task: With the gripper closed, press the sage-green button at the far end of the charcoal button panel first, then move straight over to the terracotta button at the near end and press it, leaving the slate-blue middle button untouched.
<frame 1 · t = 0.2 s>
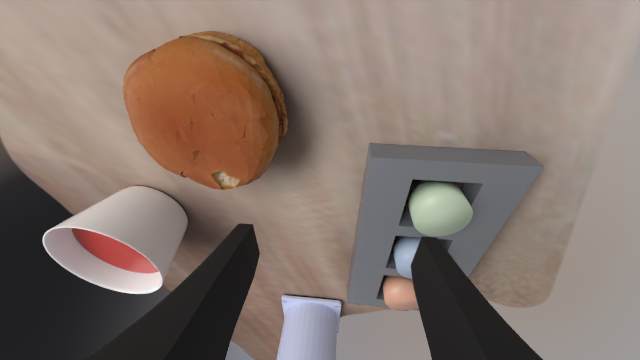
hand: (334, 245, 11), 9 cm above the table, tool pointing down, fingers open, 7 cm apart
button panel: (412, 237, 23), on the table
burger: (228, 108, 18), on the table
blue button: (417, 257, 22), point 2 cm above the table, slide at 0.0 cm
candle: (156, 209, 25), on the table
terracotta button: (402, 291, 25), point 2 cm above the table, slide at 0.0 cm
green button: (437, 208, 18), point 2 cm above the table, slide at 0.0 cm
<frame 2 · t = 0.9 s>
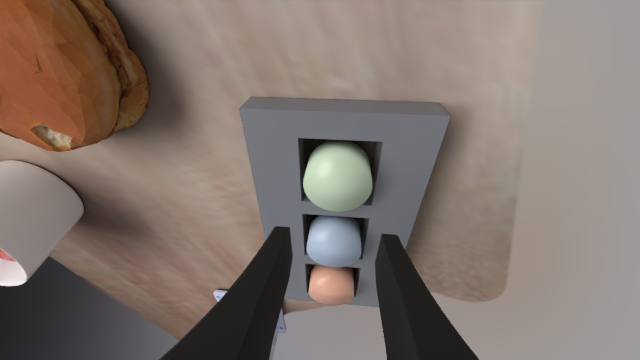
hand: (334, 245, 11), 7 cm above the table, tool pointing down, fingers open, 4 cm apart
button panel: (335, 219, 20), on the table
burger: (77, 55, 14), on the table
blue button: (334, 240, 18), point 2 cm above the table, slide at 0.0 cm
candle: (46, 190, 21), on the table
terracotta button: (331, 283, 22), point 2 cm above the table, slide at 0.0 cm
green button: (337, 176, 15), point 2 cm above the table, slide at 0.0 cm
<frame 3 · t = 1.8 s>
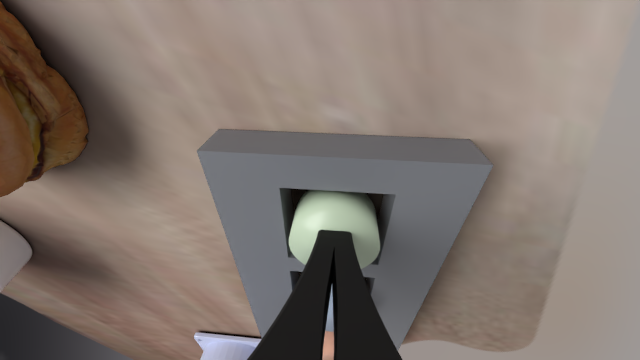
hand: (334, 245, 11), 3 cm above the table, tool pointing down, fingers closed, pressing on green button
button panel: (332, 267, 16), on the table
blue button: (330, 299, 15), point 2 cm above the table, slide at 0.0 cm
terracotta button: (328, 339, 18), point 2 cm above the table, slide at 0.0 cm
green button: (334, 229, 11), point 2 cm above the table, slide at 0.3 cm, touching gripper
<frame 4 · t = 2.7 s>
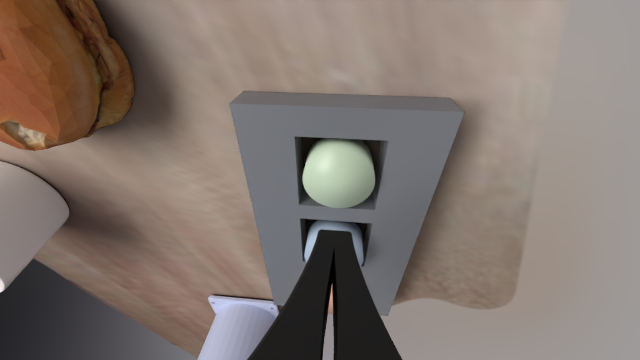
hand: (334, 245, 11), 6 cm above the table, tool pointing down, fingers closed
button panel: (335, 223, 19), on the table
burger: (54, 44, 13), on the table
blue button: (334, 246, 17), point 2 cm above the table, slide at 0.0 cm
candle: (29, 191, 20), on the table
terracotta button: (331, 290, 21), point 2 cm above the table, slide at 0.0 cm
green button: (338, 171, 14), point 1 cm above the table, slide at 0.7 cm
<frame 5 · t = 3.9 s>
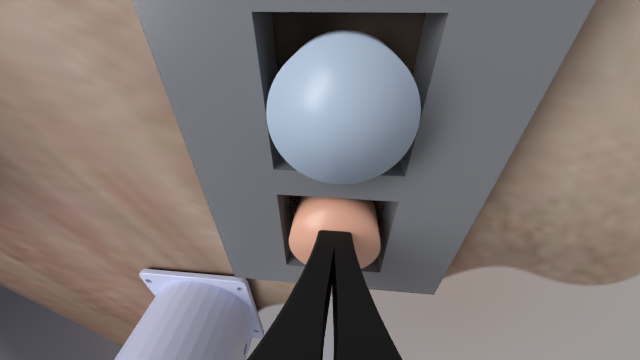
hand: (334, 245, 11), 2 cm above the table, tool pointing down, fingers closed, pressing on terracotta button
button panel: (342, 89, 9), on the table
blue button: (341, 110, 7), point 2 cm above the table, slide at 0.0 cm
terracotta button: (334, 229, 11), point 1 cm above the table, slide at 0.7 cm, touching gripper
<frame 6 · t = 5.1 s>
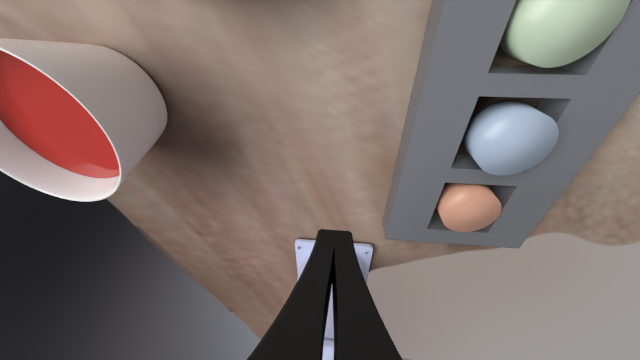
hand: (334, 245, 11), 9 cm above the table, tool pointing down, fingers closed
button panel: (488, 124, 16), on the table
blue button: (506, 138, 14), point 2 cm above the table, slide at 0.0 cm
candle: (123, 96, 18), on the table
terracotta button: (465, 204, 19), point 1 cm above the table, slide at 0.7 cm
green button: (556, 17, 11), point 1 cm above the table, slide at 0.7 cm
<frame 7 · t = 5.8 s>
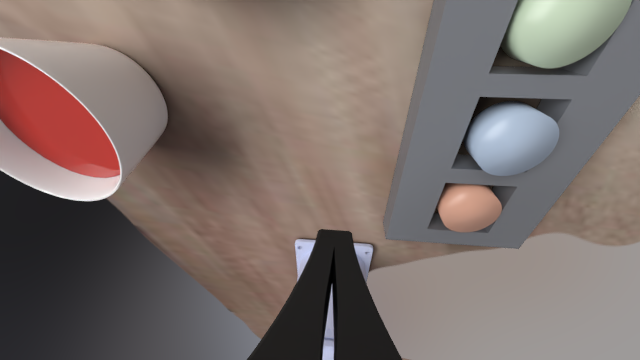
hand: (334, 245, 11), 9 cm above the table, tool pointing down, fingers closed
button panel: (489, 124, 16), on the table
blue button: (506, 139, 14), point 2 cm above the table, slide at 0.0 cm
candle: (124, 96, 18), on the table
terracotta button: (465, 205, 19), point 1 cm above the table, slide at 0.7 cm
green button: (557, 18, 11), point 1 cm above the table, slide at 0.7 cm
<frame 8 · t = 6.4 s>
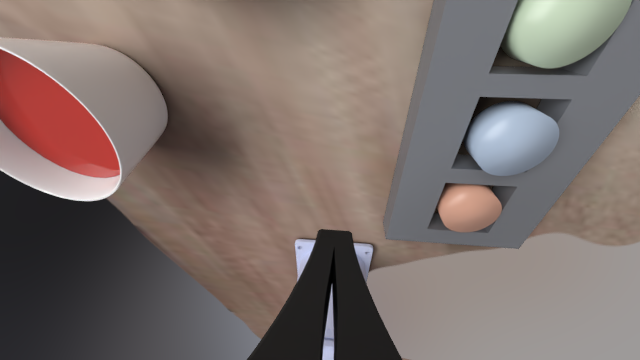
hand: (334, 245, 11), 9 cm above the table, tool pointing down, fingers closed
button panel: (489, 124, 16), on the table
blue button: (506, 139, 14), point 2 cm above the table, slide at 0.0 cm
candle: (124, 96, 18), on the table
terracotta button: (465, 205, 19), point 1 cm above the table, slide at 0.7 cm
green button: (557, 18, 11), point 1 cm above the table, slide at 0.7 cm
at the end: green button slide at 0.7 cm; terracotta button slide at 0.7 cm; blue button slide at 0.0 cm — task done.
